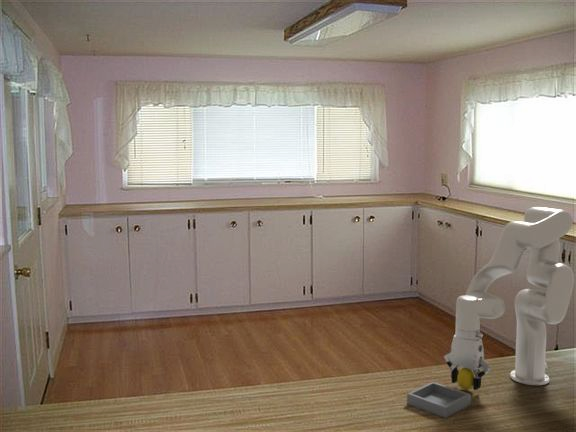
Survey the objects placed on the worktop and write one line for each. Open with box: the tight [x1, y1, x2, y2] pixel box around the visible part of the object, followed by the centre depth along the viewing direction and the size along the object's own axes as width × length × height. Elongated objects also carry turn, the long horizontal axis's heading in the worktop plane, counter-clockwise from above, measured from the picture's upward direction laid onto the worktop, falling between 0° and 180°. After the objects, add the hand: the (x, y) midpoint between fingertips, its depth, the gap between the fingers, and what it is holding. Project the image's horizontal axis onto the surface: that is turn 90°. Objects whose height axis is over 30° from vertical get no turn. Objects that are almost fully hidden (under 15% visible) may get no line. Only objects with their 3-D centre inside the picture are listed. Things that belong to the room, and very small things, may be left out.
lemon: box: [457, 367, 475, 392], centre depth 192 cm, size 6×6×8 cm
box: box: [406, 381, 472, 420], centre depth 182 cm, size 14×14×4 cm
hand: (465, 384), depth 192 cm, fingers open, 7 cm apart
